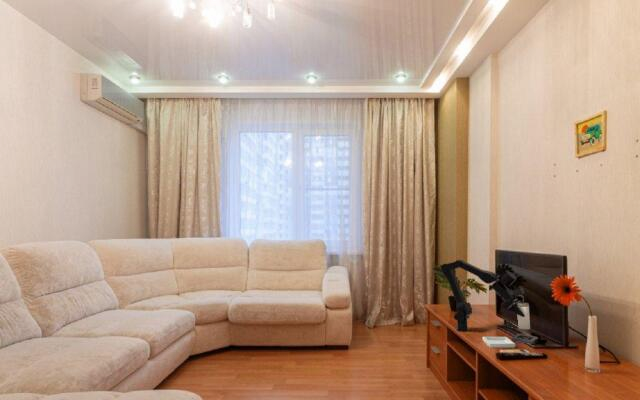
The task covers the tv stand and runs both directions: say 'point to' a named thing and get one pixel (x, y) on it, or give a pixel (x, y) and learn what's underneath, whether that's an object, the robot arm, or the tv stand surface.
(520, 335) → the collar
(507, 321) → the door stopper
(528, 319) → the stop cylinder
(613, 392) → the tv stand surface
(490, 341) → the tray
